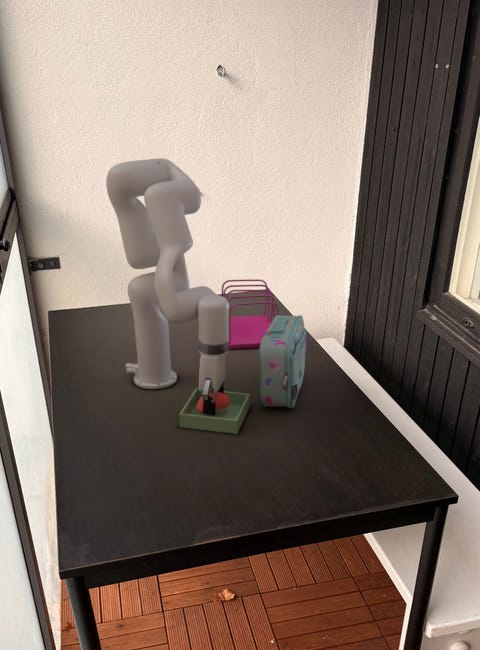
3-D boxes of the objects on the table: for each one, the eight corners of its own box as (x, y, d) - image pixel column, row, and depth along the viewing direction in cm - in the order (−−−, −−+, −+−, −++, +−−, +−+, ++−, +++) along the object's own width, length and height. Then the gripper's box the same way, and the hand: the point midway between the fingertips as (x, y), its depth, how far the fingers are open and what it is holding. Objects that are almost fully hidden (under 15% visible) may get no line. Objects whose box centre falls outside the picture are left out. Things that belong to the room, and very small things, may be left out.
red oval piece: (196, 409, 174) (190, 396, 169) (225, 394, 175) (220, 381, 170) (204, 423, 171) (198, 411, 166) (234, 408, 172) (229, 395, 167)
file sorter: (267, 319, 233) (268, 277, 225) (280, 346, 212) (281, 300, 204) (219, 322, 231) (218, 279, 223) (227, 349, 210) (227, 303, 202)
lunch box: (294, 418, 170) (298, 342, 160) (256, 414, 172) (257, 339, 162) (306, 375, 193) (309, 306, 182) (272, 372, 195) (273, 304, 184)
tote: (179, 427, 166) (179, 414, 165) (196, 400, 179) (196, 388, 177) (237, 434, 163) (237, 420, 161) (250, 406, 176) (250, 393, 174)
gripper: (208, 330, 169) (208, 389, 179) (188, 358, 155) (190, 421, 164) (236, 333, 168) (235, 393, 177) (219, 362, 153) (218, 425, 163)
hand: (213, 406), depth 171 cm, fingers closed on red oval piece, 7 cm apart
